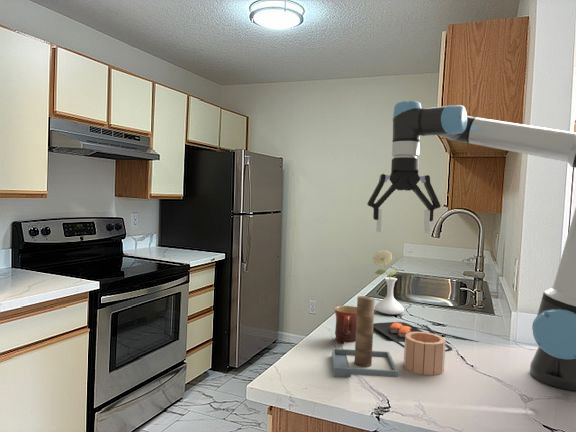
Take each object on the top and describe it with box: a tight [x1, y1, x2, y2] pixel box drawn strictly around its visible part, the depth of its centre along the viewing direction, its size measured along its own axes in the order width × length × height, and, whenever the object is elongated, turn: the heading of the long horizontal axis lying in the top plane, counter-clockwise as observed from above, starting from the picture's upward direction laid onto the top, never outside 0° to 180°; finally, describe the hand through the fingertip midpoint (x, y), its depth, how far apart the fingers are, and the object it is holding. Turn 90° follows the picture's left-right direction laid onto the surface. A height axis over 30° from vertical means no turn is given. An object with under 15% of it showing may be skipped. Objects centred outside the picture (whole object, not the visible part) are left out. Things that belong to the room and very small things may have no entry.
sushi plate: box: [373, 321, 480, 352], centre depth 146 cm, size 29×30×4 cm
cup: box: [403, 331, 447, 376], centre depth 117 cm, size 10×10×9 cm
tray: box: [331, 348, 399, 378], centre depth 119 cm, size 16×14×2 cm
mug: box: [333, 305, 357, 345], centre depth 137 cm, size 12×9×10 cm
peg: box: [354, 295, 376, 368], centre depth 118 cm, size 4×4×18 cm
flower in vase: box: [372, 249, 405, 315], centre depth 175 cm, size 13×11×25 cm
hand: (402, 232), depth 126 cm, fingers open, 13 cm apart
